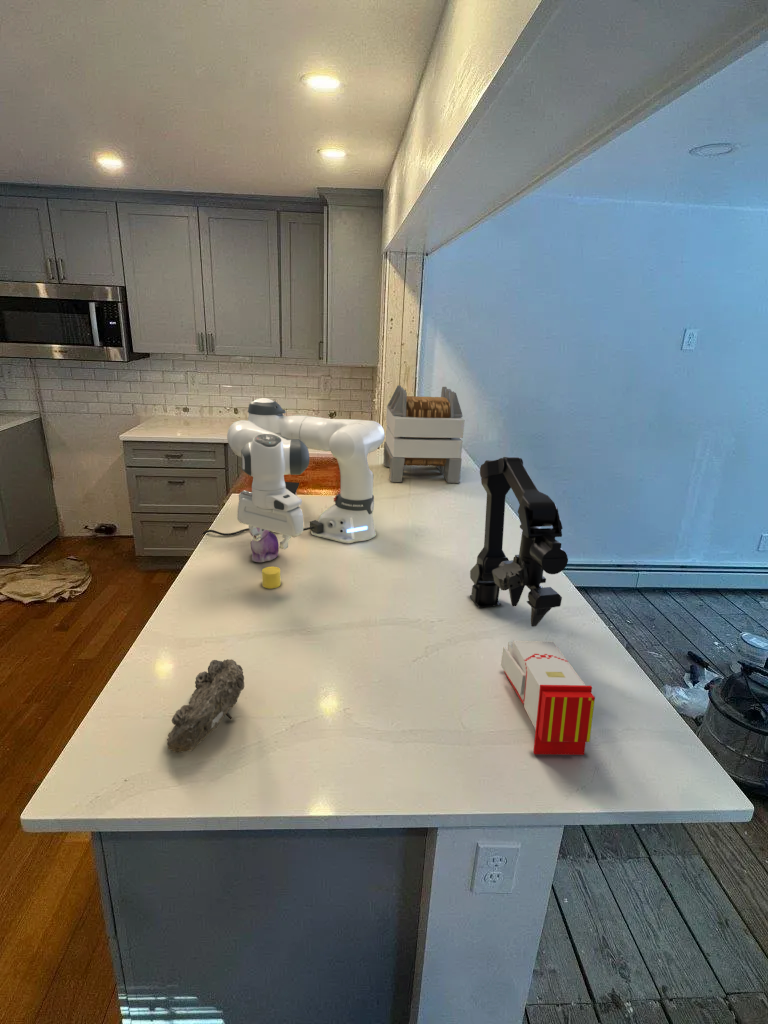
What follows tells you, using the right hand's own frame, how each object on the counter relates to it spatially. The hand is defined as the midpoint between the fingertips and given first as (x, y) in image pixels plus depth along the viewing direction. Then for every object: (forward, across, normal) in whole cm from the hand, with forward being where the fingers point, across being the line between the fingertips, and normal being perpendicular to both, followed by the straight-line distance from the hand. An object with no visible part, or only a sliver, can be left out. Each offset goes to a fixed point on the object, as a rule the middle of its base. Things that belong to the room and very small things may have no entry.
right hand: (523, 615), depth 131 cm
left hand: (-3, -44, -54) cm, 70 cm away
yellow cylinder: (+9, -44, -54) cm, 70 cm away
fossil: (+9, +9, -70) cm, 71 cm away
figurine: (+9, -63, -54) cm, 84 cm away
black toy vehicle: (+9, -111, -41) cm, 119 cm away
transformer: (+9, -148, +26) cm, 151 cm away
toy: (+9, +19, -6) cm, 22 cm away
